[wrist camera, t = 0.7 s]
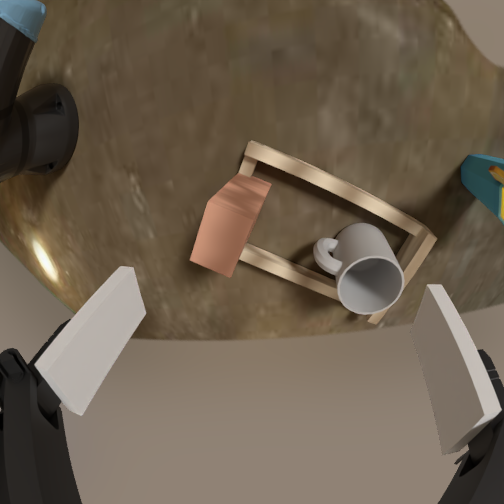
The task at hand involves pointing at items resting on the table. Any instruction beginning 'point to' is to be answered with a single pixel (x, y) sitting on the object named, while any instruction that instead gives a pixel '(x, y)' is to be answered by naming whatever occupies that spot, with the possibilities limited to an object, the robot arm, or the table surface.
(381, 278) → the cup
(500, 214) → the cup
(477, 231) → the table surface
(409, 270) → the frame
